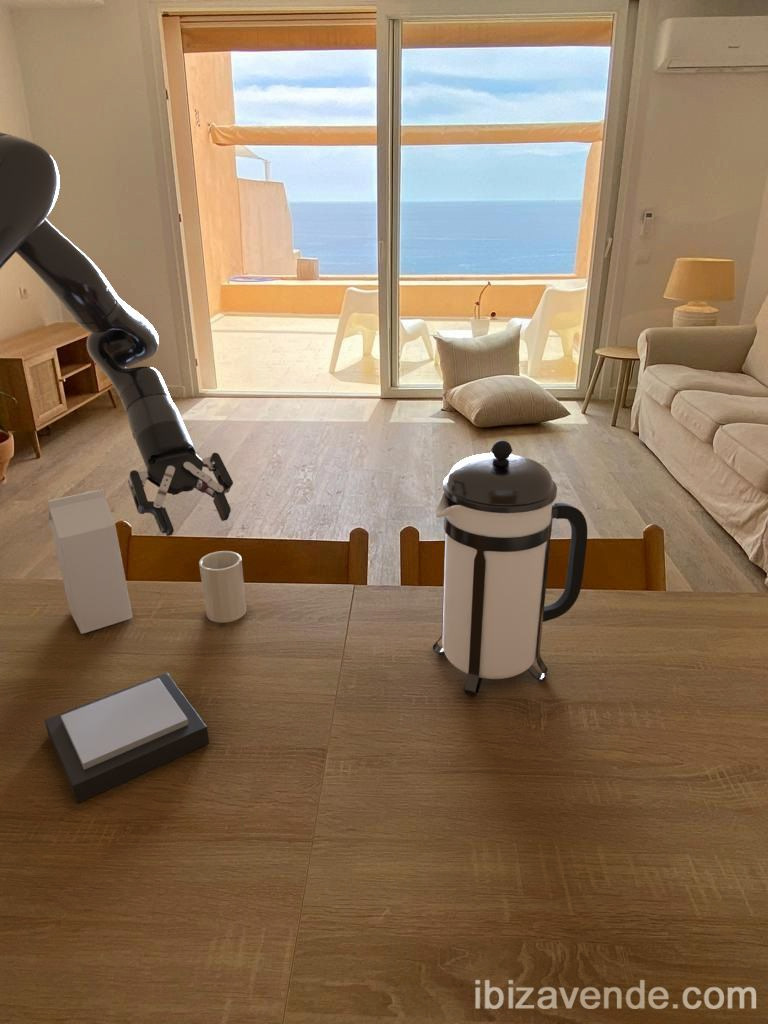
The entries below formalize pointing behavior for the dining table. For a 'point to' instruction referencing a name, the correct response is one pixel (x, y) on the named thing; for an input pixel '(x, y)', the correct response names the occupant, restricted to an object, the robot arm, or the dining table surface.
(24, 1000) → the dining table surface
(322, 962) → the dining table surface
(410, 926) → the dining table surface
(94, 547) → the milk carton
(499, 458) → the coffee press
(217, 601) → the cup
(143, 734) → the scale
